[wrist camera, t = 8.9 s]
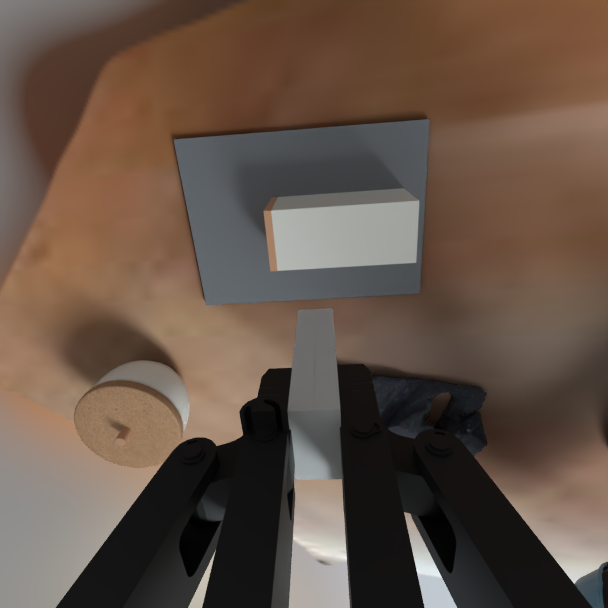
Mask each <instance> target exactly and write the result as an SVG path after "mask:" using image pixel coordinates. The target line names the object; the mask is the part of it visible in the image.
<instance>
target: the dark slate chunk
mask: <svg viewBox="0 0 608 608" xmlns="http://www.w3.org/2000/svg"><path fill="white" fill-rule="evenodd" d="M372 380H373V385H374V391H375V394H376V399H377V404H378V409H379V413H380V418H381V421H382V423H383V424H384V426H385V427H386V428H387V429H389V430H390V431H392V432H394V433H395V434H398V435H401V436H405V437H409V438H414V439H415V437H416V436H417V435H418V434H419V433H420V432H422V431H424V430H427V429H440V430H445V431H447V432H449V433H452V434H454V435H455V436H456V437H457V438H459V439H460V440H461V441H462V443H463V444H464V445H465V446H466V448H467V449H468V450H469V451H470V453H471V454H472V455H473V456H475V454H476V453H478V452H479V451H481V450H482V448H483V447H484V446H486V445H487V439H486V436H485V434H484V429H483V424H482V422H481V421H482V420H481V415H480V413H478V412H476V410H478V409H480V408H481V407H482V402H483V401H484V400H485V396H486V394H487V393H486V392H484V391H483V390H482V389H481V388H480V387H479V388H475V387H469V386H458V385H455V384H448V383H443V382H438V381H432V380H429V381H426V380H423V379H413V378H408V379H405V378H400V379H398V378H391V377H385V376H372ZM445 392H449V393H450V394H451V400H450V402H449V405H448V407H447V408H446V409H445V410H444V411H443V413H442V416H443V418H441V419H440V420H439V421H438V423H437V425H436V426H434V425H433V424H430V423H429V422H427V421H426V418H427V417H428V416H429V414H430V410H431V406H432V397H435V396H436V395H438V394H440V393H445ZM473 412H474V414H473Z"/></svg>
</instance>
